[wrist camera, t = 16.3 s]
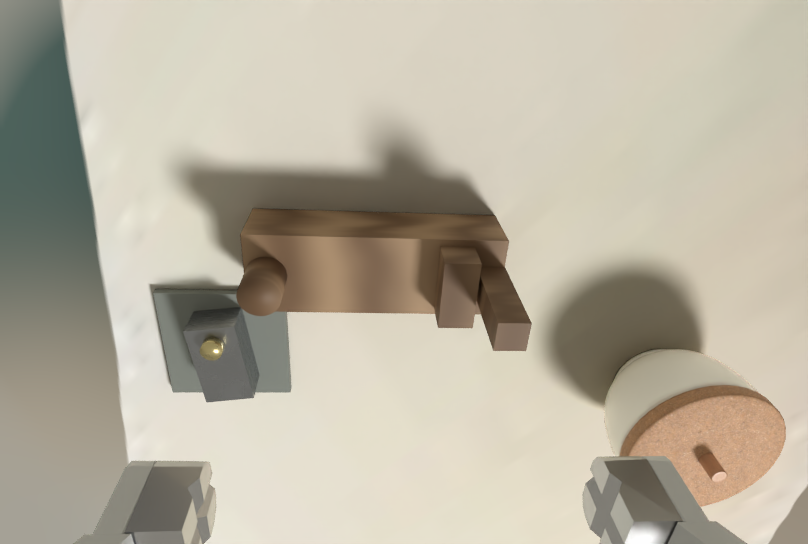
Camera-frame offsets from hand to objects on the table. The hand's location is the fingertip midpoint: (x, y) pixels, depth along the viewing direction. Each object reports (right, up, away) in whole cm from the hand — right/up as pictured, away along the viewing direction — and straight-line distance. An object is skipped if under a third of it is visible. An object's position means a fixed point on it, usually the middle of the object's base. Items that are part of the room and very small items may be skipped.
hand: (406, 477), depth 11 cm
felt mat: (-15, -1, +33) cm, 36 cm away
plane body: (-2, +6, +30) cm, 30 cm away
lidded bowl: (+23, -6, +38) cm, 45 cm away
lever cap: (-15, -2, +33) cm, 36 cm away
